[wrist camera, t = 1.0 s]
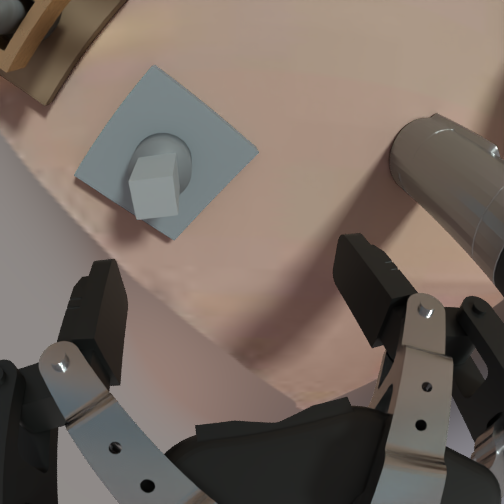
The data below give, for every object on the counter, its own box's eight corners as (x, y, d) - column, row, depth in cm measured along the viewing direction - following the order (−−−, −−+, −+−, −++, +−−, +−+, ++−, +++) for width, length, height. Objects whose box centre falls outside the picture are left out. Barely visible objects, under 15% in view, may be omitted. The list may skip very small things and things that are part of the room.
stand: (45, -58, 11) (0, -78, 4) (134, -8, 17) (109, -28, 11) (-26, 49, 15) (-81, 64, 8) (51, 102, 21) (5, 129, 15)
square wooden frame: (22, -31, 10) (4, -35, 8) (72, -3, 14) (57, -7, 11) (-20, 37, 12) (-41, 40, 10) (25, 67, 16) (6, 72, 13)
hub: (154, 64, 22) (137, 73, 15) (256, 147, 28) (278, 186, 21) (78, 168, 26) (46, 215, 19) (174, 232, 32) (172, 289, 26)
